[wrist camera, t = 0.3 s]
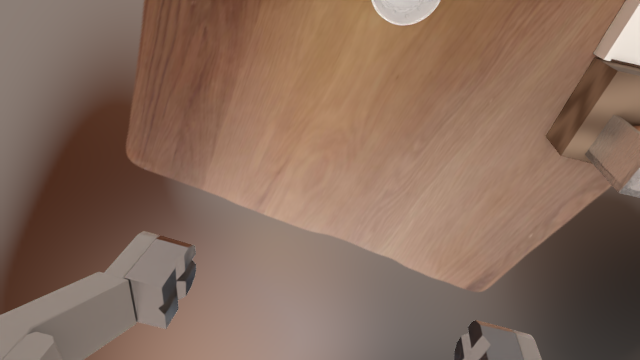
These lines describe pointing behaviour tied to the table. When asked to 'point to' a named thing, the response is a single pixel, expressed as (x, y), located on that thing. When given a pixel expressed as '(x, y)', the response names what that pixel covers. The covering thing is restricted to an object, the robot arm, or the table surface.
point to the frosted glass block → (618, 155)
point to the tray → (622, 35)
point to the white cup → (404, 10)
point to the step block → (596, 107)
